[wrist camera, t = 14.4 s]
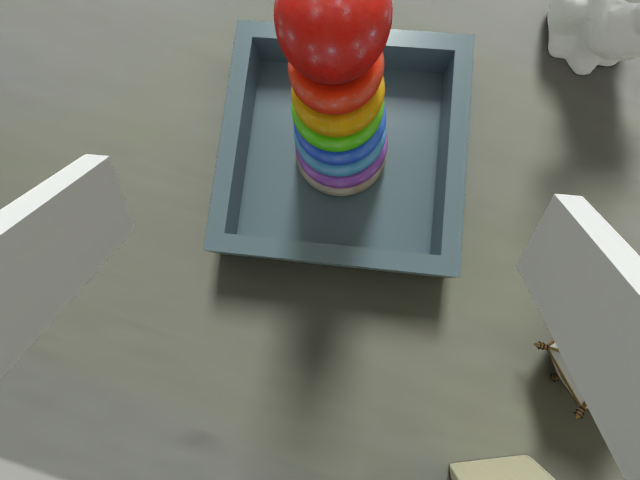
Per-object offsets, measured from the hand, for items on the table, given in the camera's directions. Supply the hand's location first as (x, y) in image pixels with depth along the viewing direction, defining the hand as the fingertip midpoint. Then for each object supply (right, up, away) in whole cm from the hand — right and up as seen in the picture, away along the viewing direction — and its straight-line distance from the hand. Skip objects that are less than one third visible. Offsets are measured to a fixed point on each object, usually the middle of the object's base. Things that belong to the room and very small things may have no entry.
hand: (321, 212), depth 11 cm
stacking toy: (+2, +7, +20) cm, 22 cm away
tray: (+2, +7, +21) cm, 22 cm away
